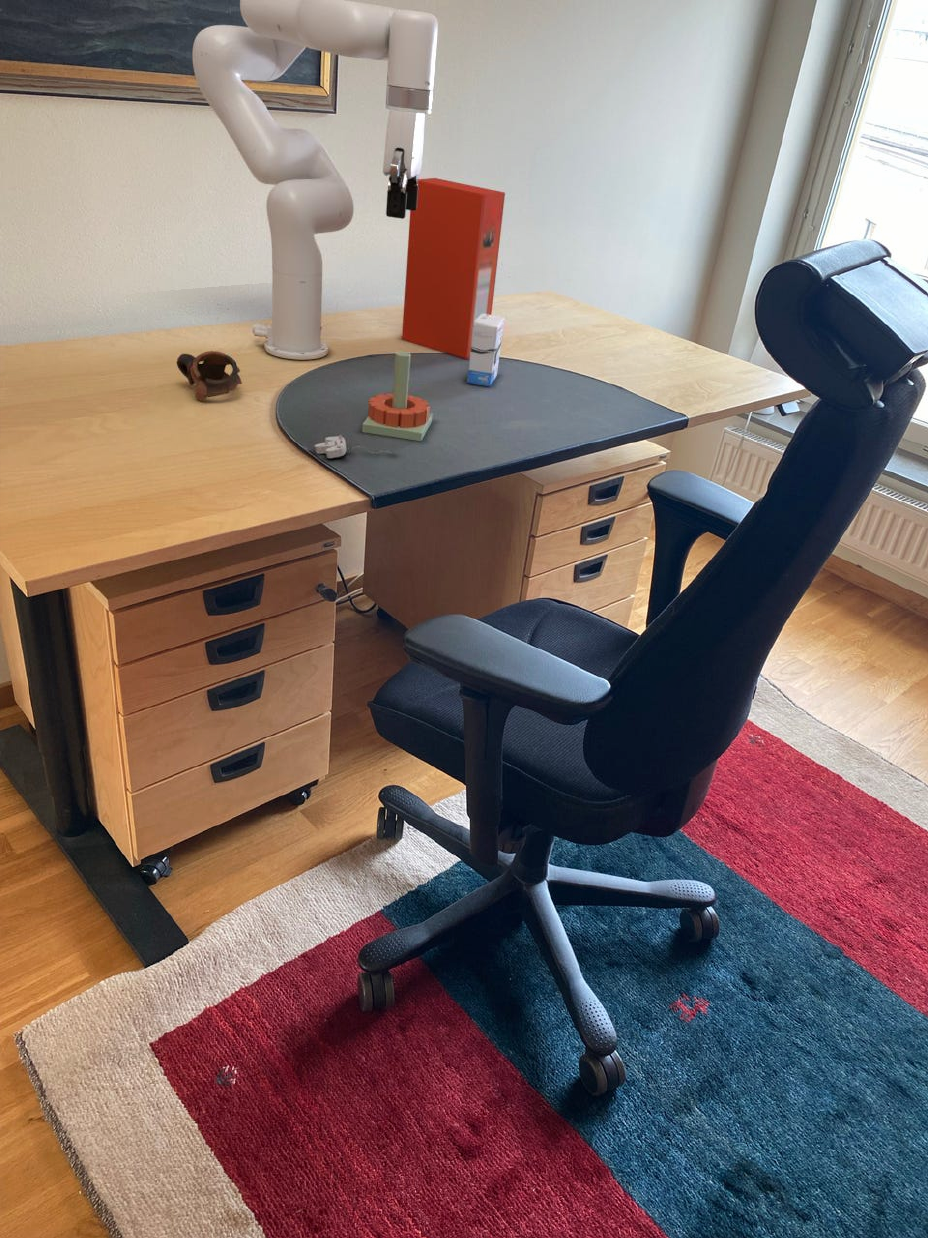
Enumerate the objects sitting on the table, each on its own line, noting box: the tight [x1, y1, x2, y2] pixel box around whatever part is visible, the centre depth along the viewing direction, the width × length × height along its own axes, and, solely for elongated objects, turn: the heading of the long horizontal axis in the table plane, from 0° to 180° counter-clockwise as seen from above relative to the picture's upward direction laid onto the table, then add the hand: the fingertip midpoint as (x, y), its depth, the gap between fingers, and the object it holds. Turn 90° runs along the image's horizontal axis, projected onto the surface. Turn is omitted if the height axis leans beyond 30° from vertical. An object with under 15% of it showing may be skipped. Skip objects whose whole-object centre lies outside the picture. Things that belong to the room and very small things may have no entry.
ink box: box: [466, 314, 506, 388], centre depth 184 cm, size 8×5×12 cm, turn 168°
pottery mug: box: [176, 350, 243, 402], centre depth 162 cm, size 12×10×8 cm
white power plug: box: [314, 434, 393, 459], centre depth 147 cm, size 6×12×3 cm, turn 116°
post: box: [361, 351, 433, 442], centre depth 156 cm, size 10×10×12 cm
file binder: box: [401, 177, 506, 360], centre depth 196 cm, size 8×17×32 cm, turn 55°
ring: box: [367, 392, 430, 428], centre depth 159 cm, size 10×10×2 cm
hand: (401, 213), depth 162 cm, fingers open, 9 cm apart
